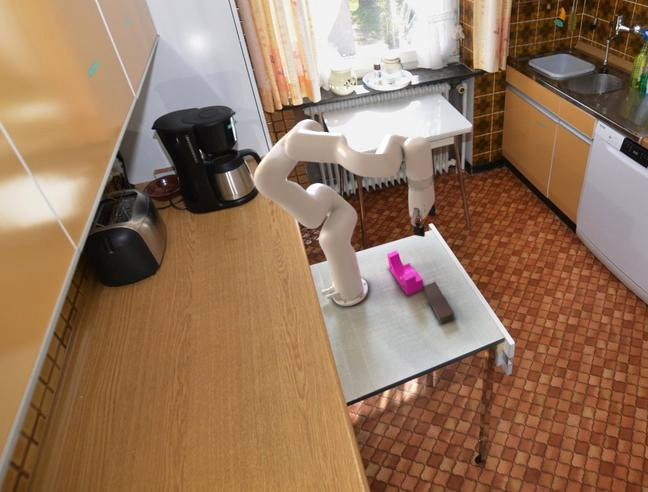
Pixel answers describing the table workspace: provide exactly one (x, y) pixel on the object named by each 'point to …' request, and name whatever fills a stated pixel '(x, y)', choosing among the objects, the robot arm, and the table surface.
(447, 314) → the brown rectangular block
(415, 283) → the toy block
